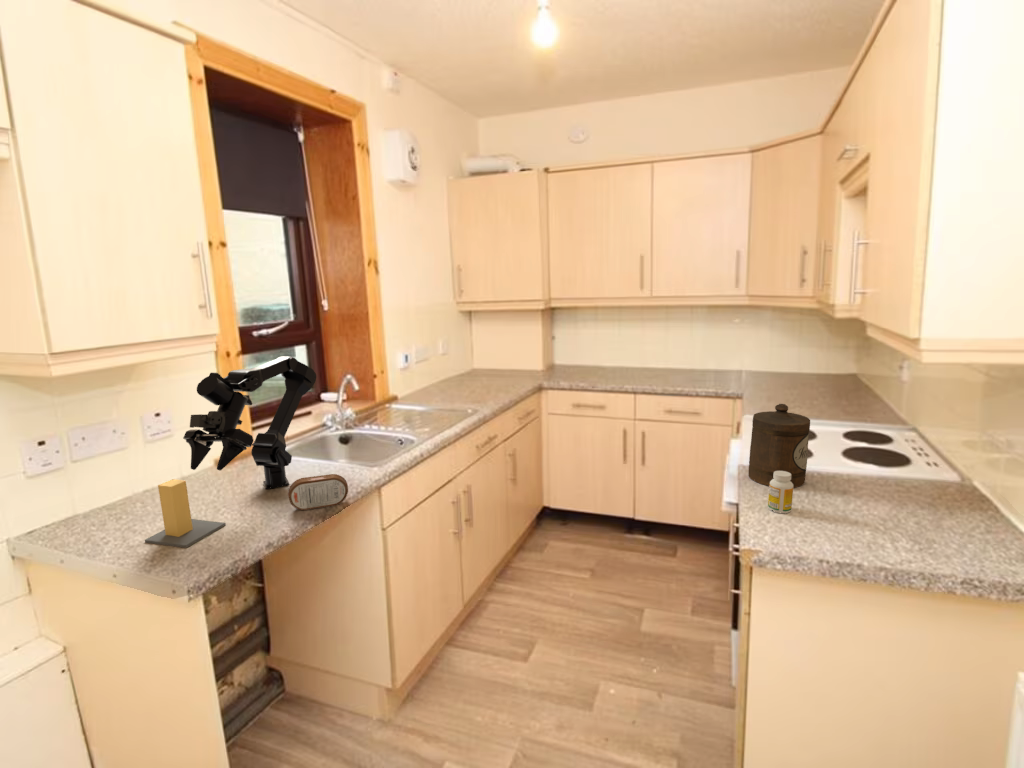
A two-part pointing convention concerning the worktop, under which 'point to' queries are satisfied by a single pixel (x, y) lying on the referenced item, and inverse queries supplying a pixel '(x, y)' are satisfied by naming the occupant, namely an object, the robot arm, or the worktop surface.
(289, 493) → the tin
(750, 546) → the worktop surface
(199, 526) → the charcoal mat
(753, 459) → the wooden container
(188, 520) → the ochre post
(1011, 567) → the worktop surface
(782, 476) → the supplement bottle
